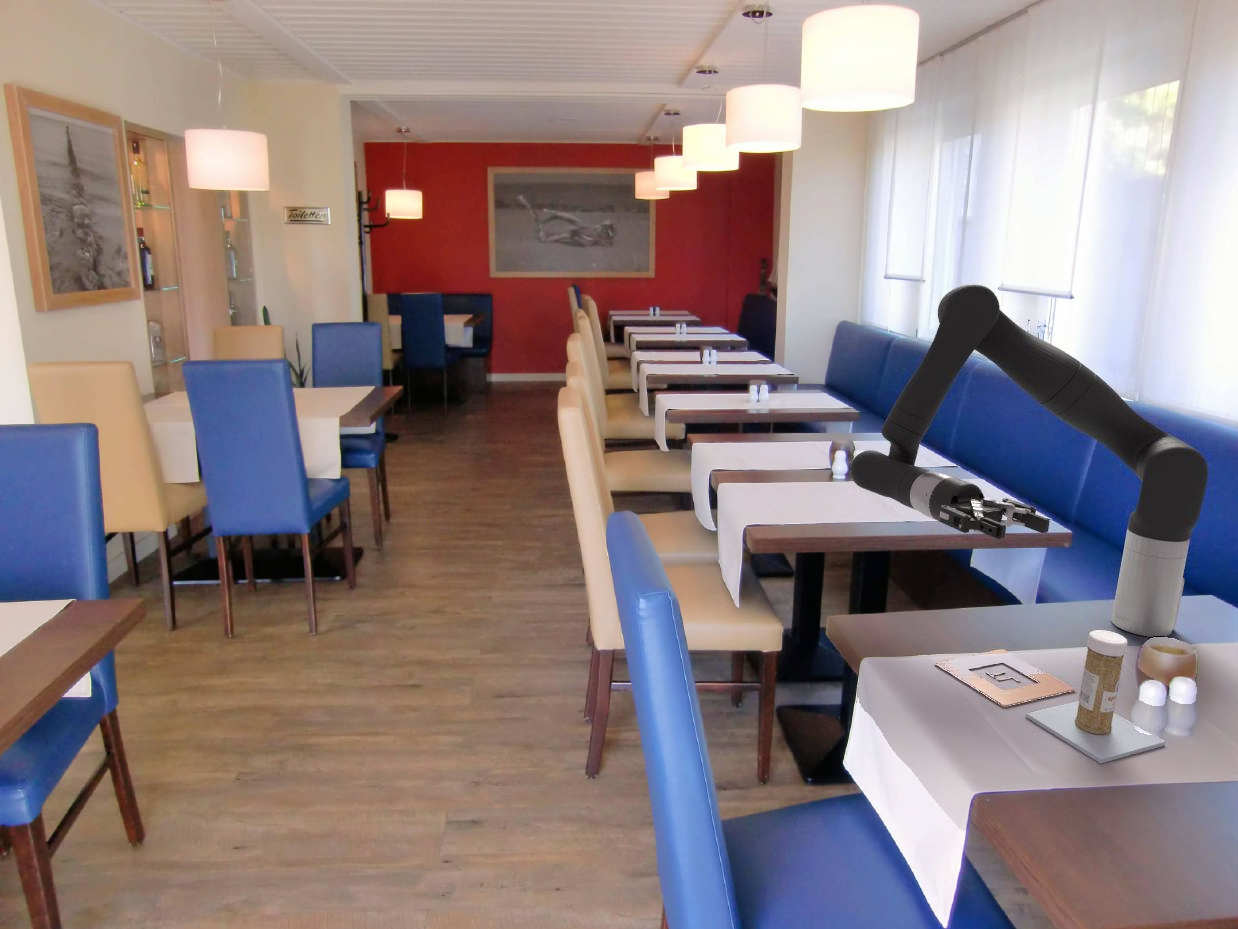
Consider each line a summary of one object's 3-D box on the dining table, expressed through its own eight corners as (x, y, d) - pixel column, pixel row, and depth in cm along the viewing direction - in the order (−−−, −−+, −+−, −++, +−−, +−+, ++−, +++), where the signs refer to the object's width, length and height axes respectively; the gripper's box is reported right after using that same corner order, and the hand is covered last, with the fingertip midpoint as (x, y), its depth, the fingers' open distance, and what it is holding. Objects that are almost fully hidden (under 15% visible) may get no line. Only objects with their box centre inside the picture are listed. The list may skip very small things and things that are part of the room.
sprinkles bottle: (1114, 738, 118) (1131, 645, 114) (1076, 732, 119) (1092, 640, 116) (1107, 721, 122) (1123, 631, 118) (1071, 715, 123) (1086, 626, 120)
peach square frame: (1002, 651, 144) (1002, 648, 143) (1075, 691, 131) (1075, 689, 131) (934, 664, 138) (934, 662, 138) (1003, 708, 126) (1004, 705, 126)
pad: (1087, 702, 128) (1088, 698, 128) (1165, 745, 117) (1165, 741, 117) (1025, 717, 123) (1026, 713, 123) (1100, 763, 113) (1101, 759, 113)
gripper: (913, 480, 140) (992, 509, 125) (982, 473, 145) (1065, 500, 131) (908, 525, 141) (985, 559, 127) (976, 516, 147) (1057, 548, 133)
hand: (1025, 529), depth 129 cm, fingers open, 8 cm apart
